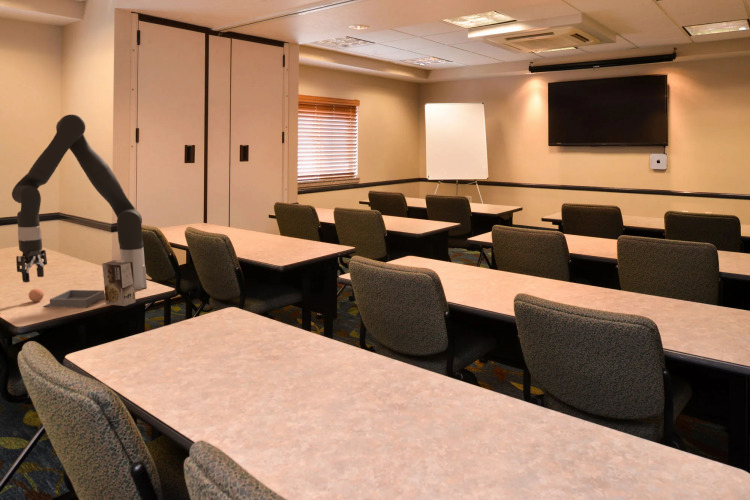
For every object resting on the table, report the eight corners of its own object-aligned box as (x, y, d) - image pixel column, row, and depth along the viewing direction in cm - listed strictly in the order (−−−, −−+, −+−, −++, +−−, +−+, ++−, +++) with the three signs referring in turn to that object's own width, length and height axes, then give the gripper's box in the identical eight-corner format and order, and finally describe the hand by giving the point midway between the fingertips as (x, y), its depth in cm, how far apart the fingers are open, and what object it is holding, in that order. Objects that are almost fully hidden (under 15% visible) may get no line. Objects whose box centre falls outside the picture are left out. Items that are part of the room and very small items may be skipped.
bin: (104, 297, 221) (103, 290, 220) (86, 307, 207) (85, 299, 207) (70, 297, 221) (70, 289, 220) (50, 306, 208) (49, 299, 207)
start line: (69, 296, 221) (69, 296, 221) (48, 307, 207) (48, 306, 207) (65, 296, 221) (64, 296, 221) (43, 306, 207) (43, 306, 207)
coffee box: (136, 302, 215) (133, 261, 212) (123, 306, 209) (120, 265, 206) (117, 299, 218) (114, 259, 215) (105, 304, 212) (101, 262, 209)
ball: (44, 299, 218) (43, 286, 217) (44, 302, 214) (42, 289, 213) (29, 300, 215) (28, 288, 215) (28, 303, 211) (27, 291, 210)
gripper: (32, 234, 217) (35, 275, 220) (7, 240, 203) (11, 283, 206) (51, 235, 217) (54, 275, 220) (27, 241, 203) (31, 284, 206)
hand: (33, 279), depth 213 cm, fingers open, 8 cm apart
